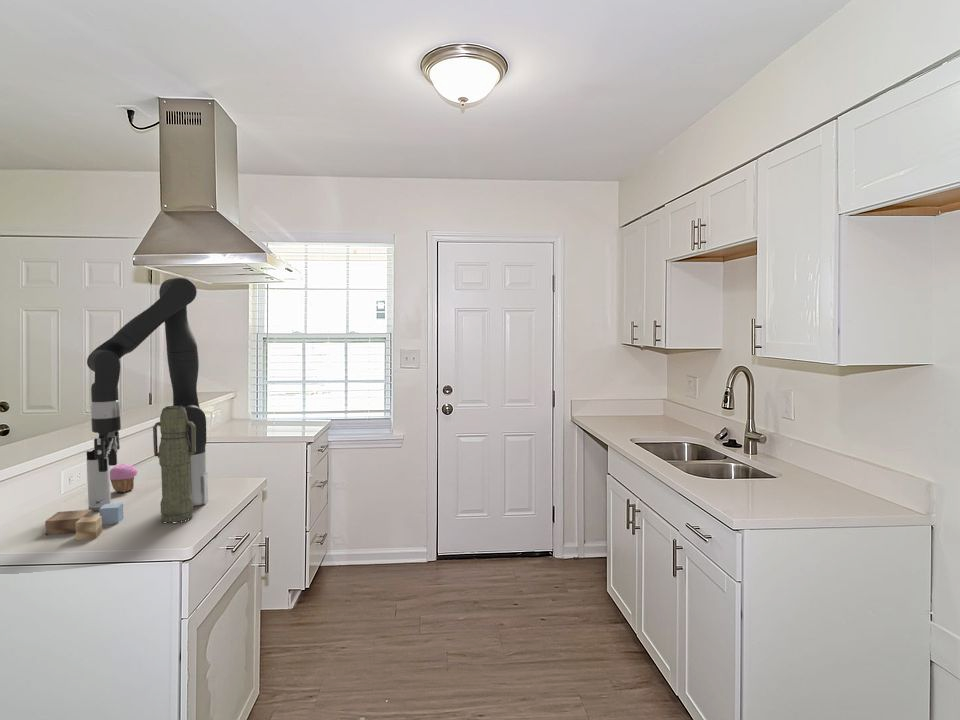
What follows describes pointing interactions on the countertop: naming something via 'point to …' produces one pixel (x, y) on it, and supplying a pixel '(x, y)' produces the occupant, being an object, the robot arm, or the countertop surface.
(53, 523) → the walnut plinth
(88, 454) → the travel mug
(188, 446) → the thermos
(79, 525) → the oak block
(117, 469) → the cupcake
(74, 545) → the countertop surface
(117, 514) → the slate block
